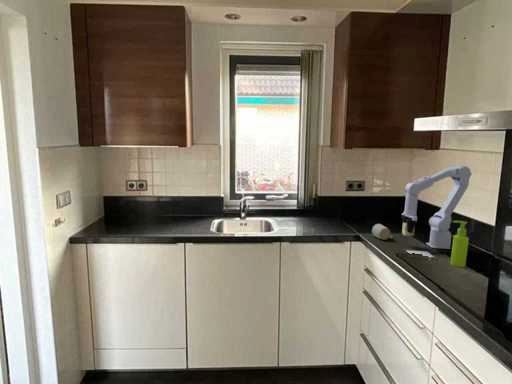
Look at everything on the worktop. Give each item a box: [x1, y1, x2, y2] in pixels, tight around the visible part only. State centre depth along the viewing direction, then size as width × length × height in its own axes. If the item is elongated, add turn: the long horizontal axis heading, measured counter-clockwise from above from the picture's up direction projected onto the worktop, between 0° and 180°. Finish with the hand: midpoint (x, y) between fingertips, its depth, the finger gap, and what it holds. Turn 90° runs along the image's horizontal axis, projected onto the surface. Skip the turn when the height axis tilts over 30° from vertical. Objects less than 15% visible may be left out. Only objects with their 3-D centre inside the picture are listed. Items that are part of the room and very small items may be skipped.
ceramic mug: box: [371, 223, 394, 241], centre depth 192 cm, size 11×8×8 cm
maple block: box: [401, 221, 416, 237], centre depth 178 cm, size 4×4×6 cm
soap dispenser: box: [450, 220, 470, 268], centre depth 151 cm, size 6×7×20 cm
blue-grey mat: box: [405, 249, 435, 258], centre depth 165 cm, size 14×12×1 cm
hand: (408, 231), depth 178 cm, fingers closed on maple block, 4 cm apart
